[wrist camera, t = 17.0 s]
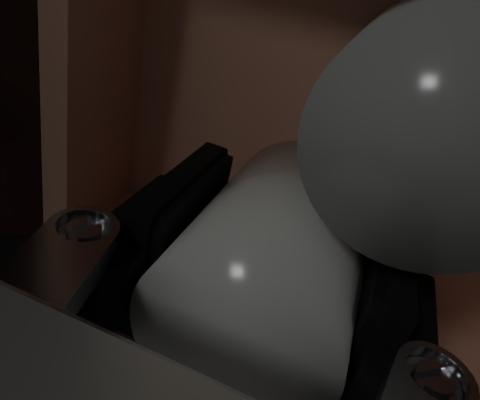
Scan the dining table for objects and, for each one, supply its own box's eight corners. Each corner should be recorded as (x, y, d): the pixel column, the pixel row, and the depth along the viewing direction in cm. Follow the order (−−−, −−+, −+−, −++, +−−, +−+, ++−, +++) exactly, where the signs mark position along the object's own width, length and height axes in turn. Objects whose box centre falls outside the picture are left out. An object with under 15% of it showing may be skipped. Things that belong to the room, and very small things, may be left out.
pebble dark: (378, -30, 10) (345, -34, 6) (559, 15, 10) (697, 54, 5) (325, 127, 12) (270, 221, 8) (471, 175, 12) (509, 311, 7)
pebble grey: (250, 120, 12) (139, 216, 7) (398, 169, 11) (385, 315, 6) (222, 238, 14) (122, 374, 9) (345, 288, 13) (305, 463, 8)
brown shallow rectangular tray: (149, -196, 11) (31, -272, 8) (911, -49, 8) (1275, -66, 5) (118, 196, 17) (44, 251, 13) (548, 367, 14) (590, 492, 10)
